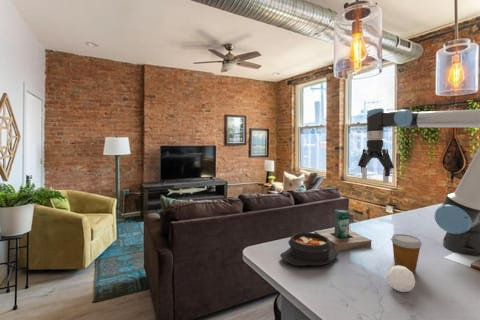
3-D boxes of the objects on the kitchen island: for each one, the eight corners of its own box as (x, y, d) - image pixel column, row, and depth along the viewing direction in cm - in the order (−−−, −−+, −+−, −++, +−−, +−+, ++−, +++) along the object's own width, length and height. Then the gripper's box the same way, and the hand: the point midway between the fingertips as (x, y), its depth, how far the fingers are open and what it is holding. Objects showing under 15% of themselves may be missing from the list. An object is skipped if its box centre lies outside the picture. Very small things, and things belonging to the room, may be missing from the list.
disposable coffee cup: (425, 277, 90) (427, 243, 90) (395, 274, 92) (396, 241, 92) (413, 265, 100) (414, 234, 99) (386, 262, 102) (387, 232, 101)
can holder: (371, 246, 117) (371, 240, 117) (336, 251, 112) (336, 244, 112) (345, 233, 135) (345, 227, 134) (314, 236, 130) (314, 231, 130)
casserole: (301, 276, 92) (301, 253, 91) (270, 256, 108) (271, 236, 107) (349, 261, 103) (350, 240, 103) (315, 245, 120) (316, 227, 119)
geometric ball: (396, 300, 82) (382, 281, 81) (393, 280, 89) (380, 262, 88) (422, 296, 78) (408, 276, 77) (417, 275, 84) (404, 257, 83)
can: (342, 245, 119) (342, 212, 118) (331, 240, 125) (332, 209, 124) (351, 242, 122) (352, 211, 121) (340, 238, 128) (341, 208, 127)
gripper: (351, 140, 143) (350, 178, 144) (390, 138, 119) (389, 184, 120) (362, 140, 145) (361, 178, 146) (402, 138, 121) (402, 183, 122)
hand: (374, 181), depth 133 cm, fingers open, 13 cm apart
